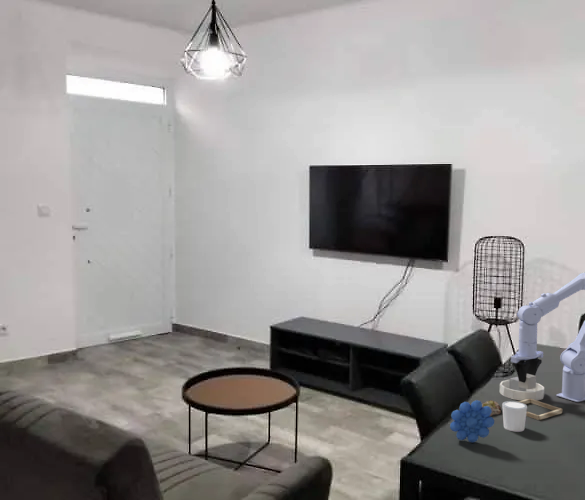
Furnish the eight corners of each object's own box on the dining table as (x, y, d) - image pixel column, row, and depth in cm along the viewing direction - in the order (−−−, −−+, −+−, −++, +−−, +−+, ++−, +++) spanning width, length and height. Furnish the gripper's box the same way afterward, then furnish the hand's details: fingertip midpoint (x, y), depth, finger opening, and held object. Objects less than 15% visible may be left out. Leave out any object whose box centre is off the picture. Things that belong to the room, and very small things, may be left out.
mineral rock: (479, 398, 193) (503, 396, 188) (483, 411, 193) (506, 409, 188) (466, 408, 185) (491, 406, 180) (470, 421, 185) (494, 420, 180)
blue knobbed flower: (494, 439, 165) (495, 397, 164) (493, 448, 158) (494, 405, 158) (451, 433, 169) (452, 392, 168) (448, 442, 162) (449, 400, 162)
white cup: (526, 425, 175) (526, 402, 175) (527, 433, 169) (527, 409, 168) (501, 422, 177) (502, 399, 177) (501, 430, 171) (502, 407, 170)
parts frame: (529, 401, 196) (529, 398, 196) (562, 412, 185) (563, 409, 185) (505, 408, 189) (505, 404, 189) (538, 420, 179) (538, 416, 179)
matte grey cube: (516, 387, 209) (516, 376, 208) (526, 390, 205) (526, 379, 205) (509, 389, 207) (509, 378, 206) (519, 392, 203) (519, 381, 203)
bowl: (517, 385, 213) (517, 377, 213) (552, 396, 201) (552, 387, 201) (491, 392, 206) (491, 383, 206) (526, 403, 194) (526, 394, 194)
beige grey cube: (525, 384, 203) (526, 373, 203) (536, 387, 200) (536, 376, 199) (518, 386, 201) (518, 375, 201) (528, 389, 197) (528, 377, 197)
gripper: (531, 336, 206) (529, 374, 208) (503, 341, 199) (502, 380, 200) (549, 340, 201) (547, 379, 202) (521, 345, 193) (520, 386, 194)
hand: (526, 380), depth 200 cm, fingers closed on beige grey cube, 4 cm apart
